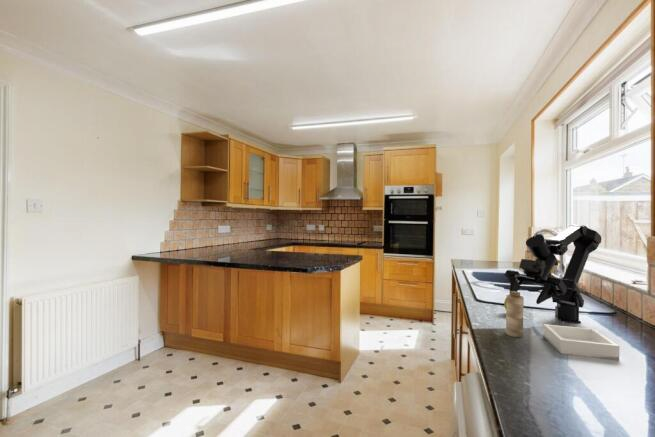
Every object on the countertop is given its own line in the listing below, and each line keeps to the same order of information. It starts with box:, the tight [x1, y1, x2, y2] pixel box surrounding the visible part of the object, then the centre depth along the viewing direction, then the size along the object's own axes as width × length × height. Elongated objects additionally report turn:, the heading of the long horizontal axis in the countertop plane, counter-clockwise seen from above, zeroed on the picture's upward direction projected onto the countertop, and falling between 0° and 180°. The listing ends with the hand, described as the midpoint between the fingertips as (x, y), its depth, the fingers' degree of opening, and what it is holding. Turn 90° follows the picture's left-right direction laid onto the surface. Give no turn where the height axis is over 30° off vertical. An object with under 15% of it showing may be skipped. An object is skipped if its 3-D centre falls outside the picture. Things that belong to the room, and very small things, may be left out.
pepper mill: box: [505, 290, 525, 338], centre depth 107 cm, size 5×5×14 cm
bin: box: [543, 323, 620, 361], centre depth 97 cm, size 14×14×4 cm
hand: (523, 299), depth 109 cm, fingers open, 9 cm apart
